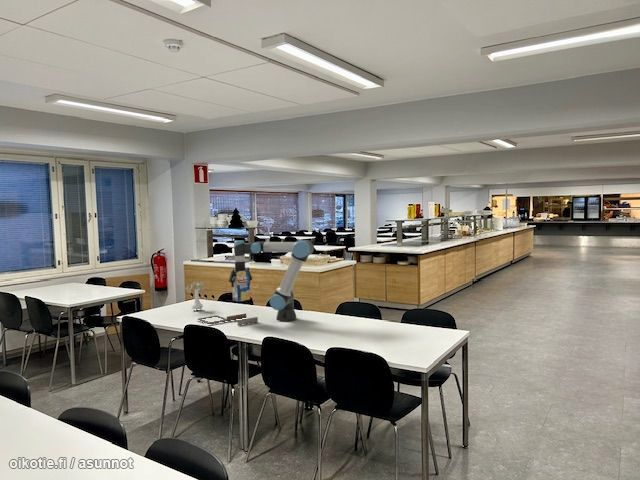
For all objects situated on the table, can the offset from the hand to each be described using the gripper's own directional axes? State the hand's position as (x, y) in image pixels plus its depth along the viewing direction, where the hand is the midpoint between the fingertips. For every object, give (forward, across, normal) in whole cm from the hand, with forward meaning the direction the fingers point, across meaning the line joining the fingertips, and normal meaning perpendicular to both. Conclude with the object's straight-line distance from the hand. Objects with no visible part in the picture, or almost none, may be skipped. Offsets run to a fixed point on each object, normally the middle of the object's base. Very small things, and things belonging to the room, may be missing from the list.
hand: (241, 290), depth 345 cm
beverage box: (+7, 0, 0) cm, 7 cm away
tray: (+24, +15, -18) cm, 33 cm away
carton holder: (+24, 0, 0) cm, 24 cm away
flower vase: (+24, +7, -67) cm, 72 cm away
